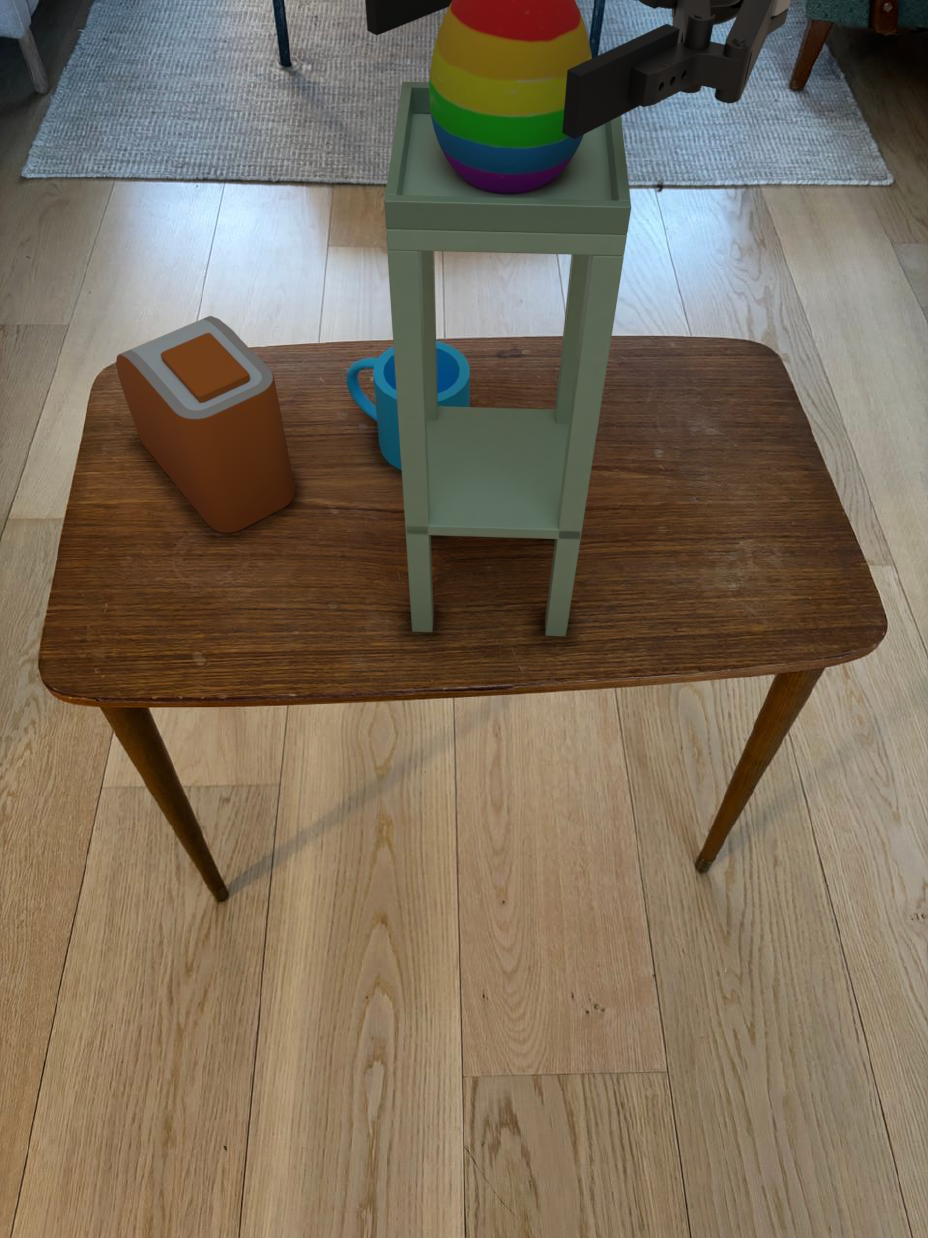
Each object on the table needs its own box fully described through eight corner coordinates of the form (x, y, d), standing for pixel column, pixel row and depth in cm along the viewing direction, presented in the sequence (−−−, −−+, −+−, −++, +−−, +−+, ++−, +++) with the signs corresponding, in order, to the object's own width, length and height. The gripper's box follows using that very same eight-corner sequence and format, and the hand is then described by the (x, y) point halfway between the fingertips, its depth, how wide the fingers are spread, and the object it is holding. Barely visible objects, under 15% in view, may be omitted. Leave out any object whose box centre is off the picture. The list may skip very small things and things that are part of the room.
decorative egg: (413, 198, 51) (405, -19, 43) (450, 119, 55) (449, -89, 47) (570, 219, 50) (592, 1, 42) (594, 137, 54) (618, -73, 46)
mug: (485, 430, 90) (487, 358, 84) (440, 486, 86) (438, 416, 80) (375, 386, 94) (368, 314, 87) (326, 439, 90) (316, 367, 83)
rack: (562, 521, 84) (617, 85, 55) (565, 636, 77) (631, 206, 48) (421, 517, 84) (402, 80, 55) (412, 631, 77) (383, 200, 48)
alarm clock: (307, 496, 85) (285, 372, 74) (220, 541, 82) (184, 419, 71) (223, 403, 92) (191, 278, 81) (140, 442, 89) (96, 316, 78)
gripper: (920, 80, 52) (657, 238, 43) (574, -60, 63) (308, 44, 54) (981, -86, 46) (689, 59, 37) (586, -210, 57) (289, -119, 48)
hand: (463, 51), depth 46 cm, fingers open, 13 cm apart
